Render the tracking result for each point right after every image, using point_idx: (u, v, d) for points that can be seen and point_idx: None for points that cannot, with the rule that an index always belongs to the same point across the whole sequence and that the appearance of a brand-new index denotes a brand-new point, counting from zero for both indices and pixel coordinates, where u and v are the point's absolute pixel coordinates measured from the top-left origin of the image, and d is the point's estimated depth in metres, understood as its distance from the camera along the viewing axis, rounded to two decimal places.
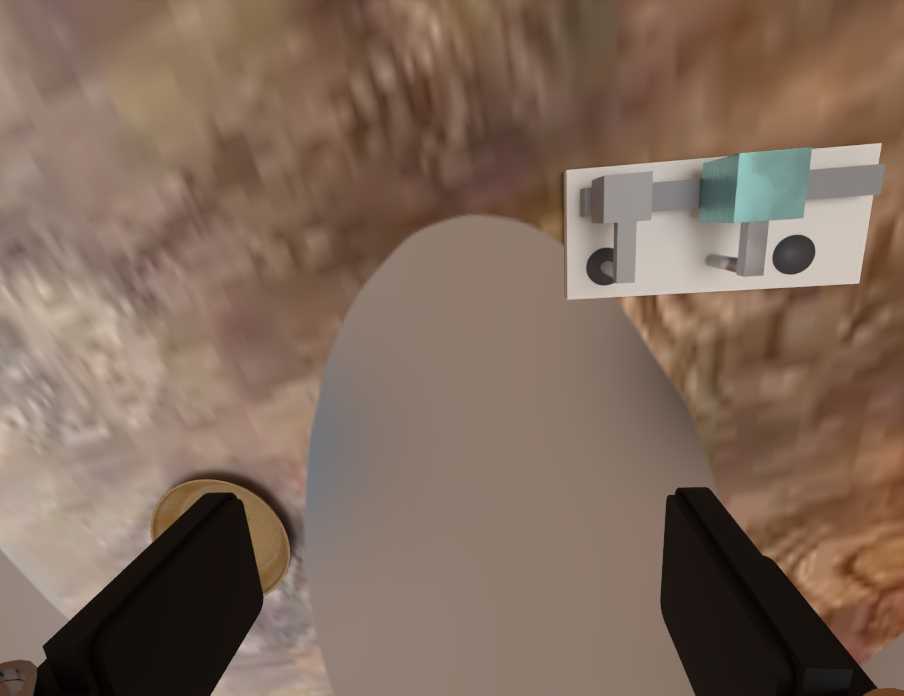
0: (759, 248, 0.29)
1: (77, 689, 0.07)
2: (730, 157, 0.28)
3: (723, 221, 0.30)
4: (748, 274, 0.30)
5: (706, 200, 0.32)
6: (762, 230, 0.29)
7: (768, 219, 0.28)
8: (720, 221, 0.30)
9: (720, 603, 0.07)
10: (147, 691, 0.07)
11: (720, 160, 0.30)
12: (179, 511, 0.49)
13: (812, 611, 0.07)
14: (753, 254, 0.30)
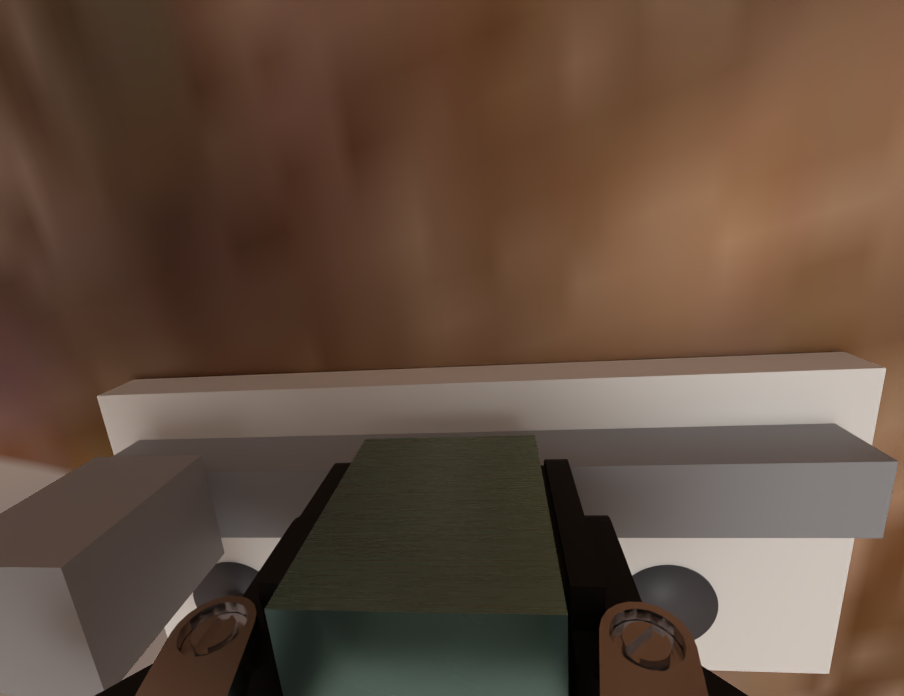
0: None
1: None
2: (298, 558, 0.07)
3: None
4: None
5: None
6: None
7: None
8: None
9: None
10: None
11: None
12: None
13: (621, 555, 0.08)
14: None
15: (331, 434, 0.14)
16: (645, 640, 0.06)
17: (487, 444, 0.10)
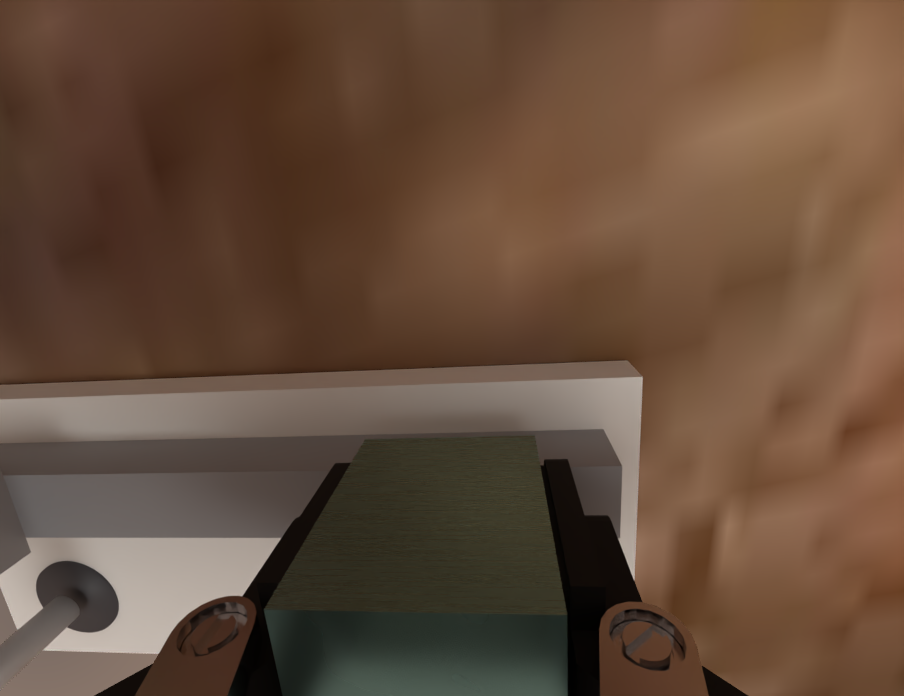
0: None
1: None
2: (298, 558, 0.07)
3: None
4: None
5: None
6: None
7: None
8: None
9: None
10: None
11: None
12: None
13: (621, 555, 0.08)
14: None
15: (146, 439, 0.14)
16: (645, 640, 0.06)
17: (487, 444, 0.10)
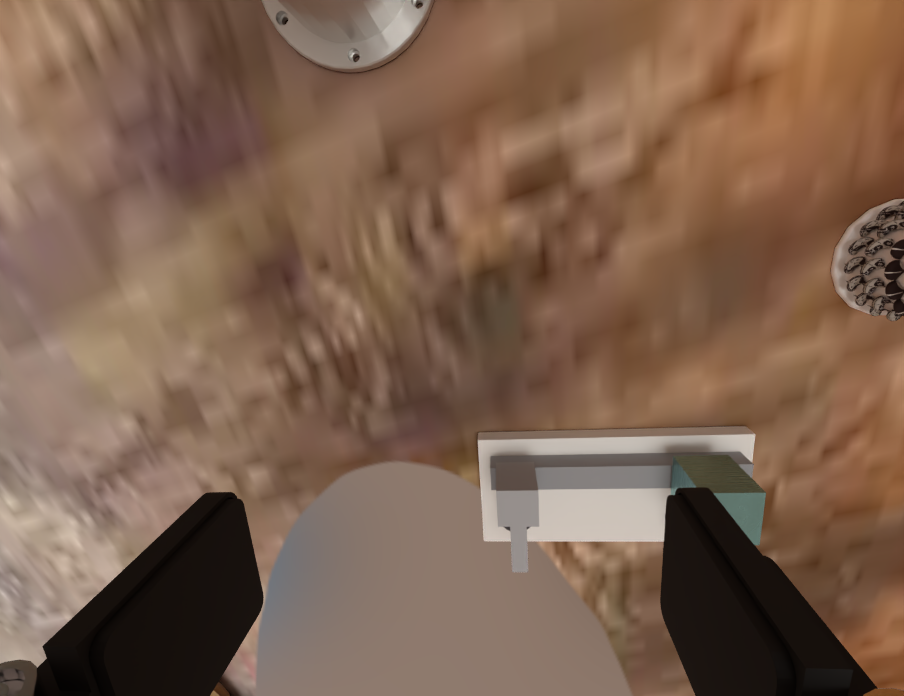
0: None
1: (77, 689, 0.07)
2: (694, 485, 0.31)
3: None
4: None
5: (675, 491, 0.35)
6: None
7: None
8: None
9: (720, 603, 0.07)
10: (147, 691, 0.07)
11: (686, 475, 0.33)
12: None
13: (812, 611, 0.07)
14: None
15: (565, 454, 0.38)
16: None
17: (715, 457, 0.34)
